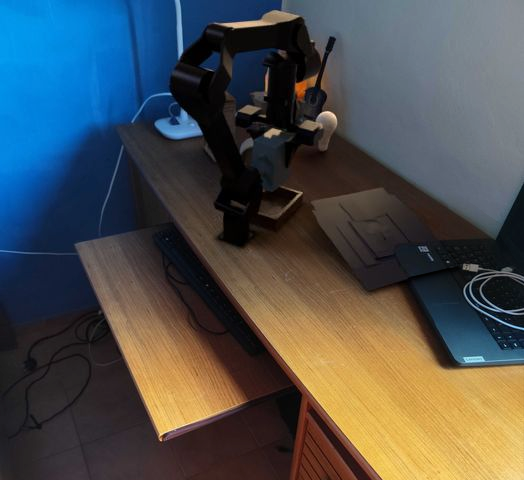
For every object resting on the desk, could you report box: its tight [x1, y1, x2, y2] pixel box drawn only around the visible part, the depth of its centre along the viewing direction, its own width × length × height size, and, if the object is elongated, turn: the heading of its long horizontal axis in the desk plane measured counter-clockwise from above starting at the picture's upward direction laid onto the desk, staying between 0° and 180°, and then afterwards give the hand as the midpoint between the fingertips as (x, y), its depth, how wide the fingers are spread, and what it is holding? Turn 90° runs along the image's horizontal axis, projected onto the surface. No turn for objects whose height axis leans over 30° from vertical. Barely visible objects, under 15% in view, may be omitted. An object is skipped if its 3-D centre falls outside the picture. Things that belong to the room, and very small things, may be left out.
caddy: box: [250, 185, 304, 232], centre depth 113 cm, size 15×9×3 cm, turn 152°
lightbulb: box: [315, 111, 338, 152], centre depth 134 cm, size 6×6×11 cm
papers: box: [309, 187, 440, 292], centre depth 106 cm, size 24×30×4 cm
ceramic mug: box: [239, 137, 253, 166], centre depth 125 cm, size 11×8×8 cm
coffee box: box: [203, 90, 237, 163], centre depth 127 cm, size 9×6×16 cm
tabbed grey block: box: [252, 128, 292, 192], centre depth 102 cm, size 6×11×10 cm, turn 148°
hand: (275, 164), depth 105 cm, fingers closed on tabbed grey block, 6 cm apart
